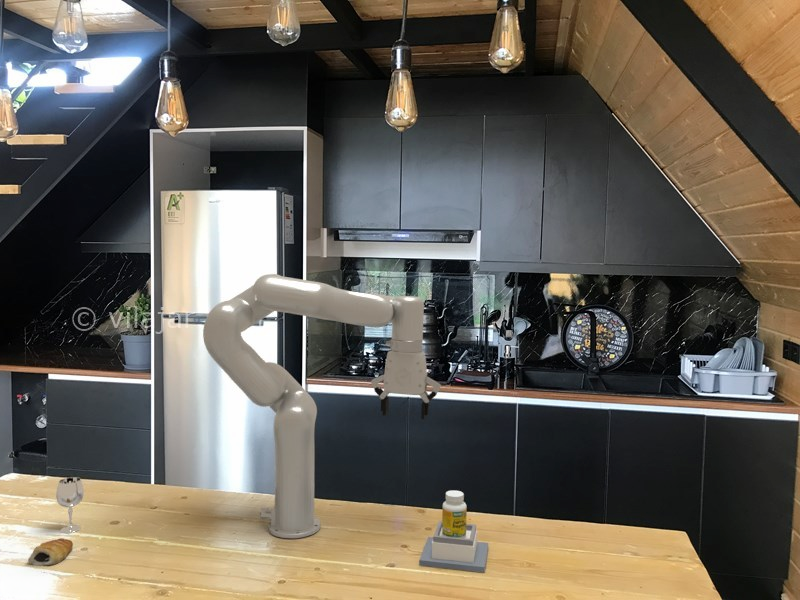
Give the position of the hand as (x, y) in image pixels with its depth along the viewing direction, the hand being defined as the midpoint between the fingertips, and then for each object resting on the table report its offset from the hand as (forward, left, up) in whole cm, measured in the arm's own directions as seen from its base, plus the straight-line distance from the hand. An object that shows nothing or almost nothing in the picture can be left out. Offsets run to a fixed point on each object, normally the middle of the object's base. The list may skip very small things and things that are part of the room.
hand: (404, 416), depth 154 cm
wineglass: (-78, -20, -28) cm, 85 cm away
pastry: (-71, -33, -28) cm, 84 cm away
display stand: (+14, -13, -28) cm, 34 cm away
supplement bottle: (+14, -13, -23) cm, 30 cm away
